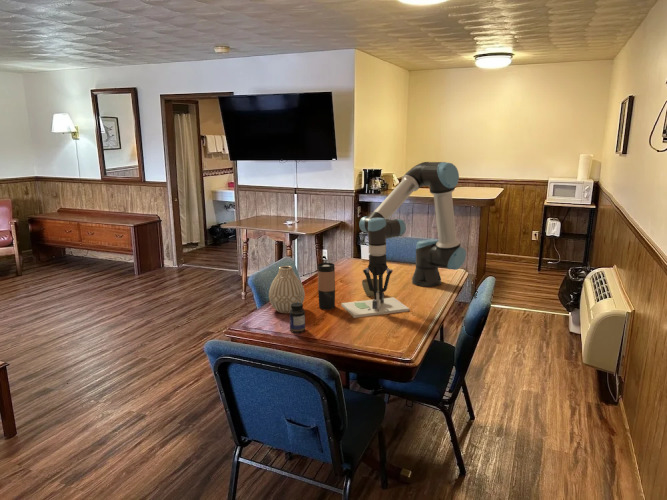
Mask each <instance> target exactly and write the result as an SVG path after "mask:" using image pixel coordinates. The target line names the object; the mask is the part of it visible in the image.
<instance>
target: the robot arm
mask: <svg viewBox="0 0 667 500" xmlns="http://www.w3.org/2000/svg"><path fill="white" fill-rule="evenodd" d="M459 178H460V174H459V170H458V168H457V166H456V165H454V164H453V163H451V162H446V161H424V162H423V161H422V162H421V163H418V164H416V165H415V166H413V167H412V168H411V169H409V170H408V171H406V173H404V175H403V176H402V177H401V181H400V183H398V184H397V185H396V186H395V188H394V189H392V191H391V192H390V193H389V194H388V195H387V196H386V197H385V199H384V200H383V201H381V203H380V204H379V205H378V206H377V207H376V209H374V210H373V212H372V213H371V214H370V215H366V216H363V217H360V220H359V222H358V223H359V230H360V231H361V232H363V233H366V234H367V235H368V239H367V240H368V254H369V255H368V266H367V267H366V268H364V269H363V270H362V272H363V274H364V275H365V279H367V282H368V286H369V289H370V291H373V292H374V297H373V299H376V301H377V307H380V306H381V302H380V300H382V298H383V292H384V293H385V292H386V291H387V289H388V285H389V283H390V277H391V274H392V273H393V272H394V270H393V269H390V268H389V266H388V265H387V254H386V253H387V240H388V239H391V238H397V237H400V236H403V235H405V233H406V231H407V225H406V223H405V220H403V219H401V218H394V219H390V218H391V217H392V216H393V215H394V214H395V213H396V212H397V210H398V209H399V208H400V207H401V206H402V204H403V203H405V201H406V200H407V199H408V198H409V197H410V196H411V194H413V192H417V191H418V190H419V189H420V188H422V187H428V188H429V193H430V194H431V195H433V203H434V212H435V220H436V229H437V236H438V237H437V238H438V239H437V238H436V239H433V238H432V239H423V240H419V241H417V243H416V246H415V247H416V248H415V269H414V272H413V275H412V278H411V283H412V284H413V285H415V286H418V287H426V288H427V287H429V288H430V287H439V286H440V285H441V284H442V277H441V274H440V271H439V270H440V269H439V268H444V269H448V270H454V271H456V270H459V269H460V268H461V267H462V266H463V264H464V263H465V261H466V258H467V257H466V256H467V251H466V249H465V248H464V247H462V246H461V242H460V240H459V239H458V238H457V232H456V222H455V221H456V220H455V212H454V202H453V200H454V199H453V192H454V191H455V190H456V189H455V187H456V186H457V185H458V183H459ZM385 272H386V275H385V279H384V278H383V277H384V274H385ZM370 273H371V274H372V276H371V274H370ZM371 277H372V278H371ZM371 279H373V284H372V281H371ZM377 279H379V291H377V290H378V289H377ZM383 282H384V283H383Z"/></svg>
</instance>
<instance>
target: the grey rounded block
mask: <svg viewBox="0 0 667 500" xmlns="http://www.w3.org/2000/svg"><path fill="white" fill-rule="evenodd" d="M384 298H385V292H383V298H382V300H380V302H381V303H384ZM373 299H374V298H373ZM373 299H372V300H373ZM377 308H378V307H377V301H376V299H374V300H373V304H372V309H377Z"/></svg>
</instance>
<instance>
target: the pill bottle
mask: <svg viewBox="0 0 667 500" xmlns="http://www.w3.org/2000/svg"><path fill="white" fill-rule="evenodd" d="M303 307H304V303H303V304H302V303H298V302H296V303H292V304H291V308H292V309H291V310H290V312H289V313H288V314H289V331H290V332H291V333H294V334H301V333H303V332H305V330H306V311H305V310H304V308H303Z"/></svg>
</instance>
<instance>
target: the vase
mask: <svg viewBox="0 0 667 500" xmlns="http://www.w3.org/2000/svg"><path fill="white" fill-rule="evenodd" d="M304 288H305V287H304V286H303V283H302V281H301V280H300V279H299V277H298V276H297V275H296V273H295V272H294V269H293V267H292V266H291V265H282V266H280V267H279V269H278V273H277V274H276V276H275V277H274V279H273V280H272V282H271V284H270V287H269V291H268V300H269V302H270V305H271V307H272V308H273V309H274V310H275V311H277V312H278V313H281V314H290V313H289V312H290V310H291V309H292V308H291V304H292V303H296V302H298V303H302V304H303V305H304V301H305V296H306V295H305V289H304Z"/></svg>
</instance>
